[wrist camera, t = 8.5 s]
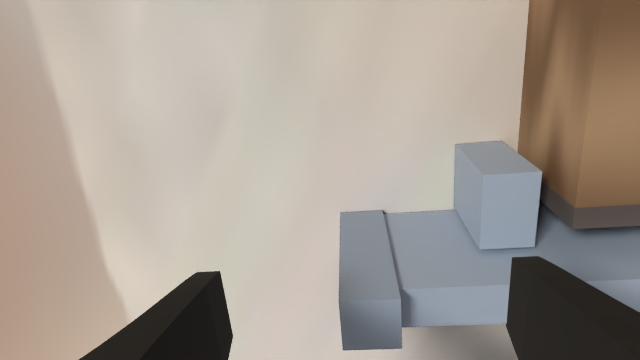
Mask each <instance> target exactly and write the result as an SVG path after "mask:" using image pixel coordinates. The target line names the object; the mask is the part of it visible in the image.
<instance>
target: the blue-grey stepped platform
mask: <svg viewBox="0 0 640 360" xmlns="http://www.w3.org/2000/svg"><path fill="white" fill-rule="evenodd" d="M541 179H542V171H541V170H540V169H538V168H537V167H536V166H534V165H533V164H532V163H530V162H529V161H528V160H527V159H525V158H524V157H523V156H521V155H520V154H519V153H517V152H516V151H515V150H513V149H512V148H511V147H509V146H508V145H507V144H505V143H504V142H503V141H493V142H479V143H464V144H455V176H454V207H455V209H456V210H444V211H426V212H409V213H391V214H383V210H377V211H360V212H342V213H340V260H339V310H340V321H341V333H342V344H343V350H370V349H401V348H402V327H428V326H457V325H485V324H506V323H507V311H508V299H509V287H510V274H511V262H512V257H528V256H539V257H541V258H544V259H546V260H547V261H549V262H551V263H553V264H555V265H557V266H559V267H560V268H562V269H564V270H566V271H567V272H569V273H571V274H573V275H574V276H576V277H578V278H579V279H581V280H583V281H585V282H586V283H588V284H590V285H592V286H593V287H595V288H597V289H598V290H600V291H602V292H604V293H606V294H607V295H609V296H611V297H613V298H614V299H616V300H618V301H620V302H622V303H623V304H625V305H627V306H629V307H631V308H633V309H634V310H636V311H638V312H640V226H624V227H605V228H587V229H571V228H570V227H569V226H568V225H567V224H566V223H564V222H563V221H562V220H561V219H560V218H559V217H558V216H557V215H556V214H555V213H553V212H552V211H551V210H550V209H549V208H548V207H547V206H546V205H539V199H540V189H541Z"/></svg>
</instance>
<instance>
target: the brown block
mask: <svg viewBox="0 0 640 360" xmlns="http://www.w3.org/2000/svg"><path fill="white" fill-rule="evenodd" d="M518 153H519V154H520V155H521V156H523V157H524V158H525V159H527V160H528V161H529V162H530V163H532V164H533V165H534V166H536V167H537V168H538V169H540V170H541V171H542V179H541V189H540V199H539V200H540V201H541V202H542V203H544V204H545V205H546V206H547V207H548V208H549V209H550V210H551V211H552V212H553V213H555V214H556V215H557V216H558V217H559V218H560V219H561V220H562V221H563V222H564V223H566V224H567V225H568V226H569V227H570V228H571V229H587V228H605V227H624V226H640V0H529V13H528V26H527V39H526V52H525V64H524V77H523V90H522V103H521V115H520V128H519V141H518Z"/></svg>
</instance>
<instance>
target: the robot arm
mask: <svg viewBox="0 0 640 360" xmlns="http://www.w3.org/2000/svg"><path fill="white" fill-rule="evenodd" d="M506 327H507V330H508V333H509V336H510V338H511V341H512V344H513V346H514V349H515V352H516V354H517V357H518V359H519V360H640V312H638V311H636V310H634V309H633V308H631V307H629V306H627V305H625V304H623V303H622V302H620V301H618V300H616V299H614V298H613V297H611V296H609V295H607V294H606V293H604V292H602V291H600V290H598V289H597V288H595V287H593V286H592V285H590V284H588V283H586V282H585V281H583V280H581V279H579V278H578V277H576V276H574V275H573V274H571V273H569V272H567V271H566V270H564V269H562V268H560V267H559V266H557V265H555V264H553V263H551V262H549V261H547V260H546V259H544V258H541V257H539V256H528V257H512V262H511V274H510V287H509V299H508V311H507V323H506ZM232 338H233V334H232V329H231V324H230V319H229V314H228V309H227V304H226V299H225V294H224V289H223V284H222V279H221V274H220V271H215V272H197V273H195V274H194V275H192V276H191V277H189V278H188V279H187V280H185V281H184V282H183V283H181V284H180V285H179V286H177V287H176V288H175V289H174V290H172V291H171V292H170V293H169V294H167V295H166V296H165V297H164V298H162V299H161V300H160V301H159V302H157V303H156V304H155V305H153V306H152V307H151V308H150V309H148V310H147V311H146V312H144V313H143V314H142V315H141V316H139V317H138V318H137V319H135V320H134V321H133V322H131V323H130V324H129V325H127V326H126V327H125V328H123V329H122V330H120V331H119V332H118V333H116V334H115V335H114V336H112V337H111V338H110V339H108V340H107V341H105V342H104V343H102V344H101V345H100V346H98V347H97V348H95V349H94V350H92V351H91V352H90V353H88V354H87V355H85V356H84V357H82V358H80V359H79V360H228V357H229V353H230V348H231V343H232Z"/></svg>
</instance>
